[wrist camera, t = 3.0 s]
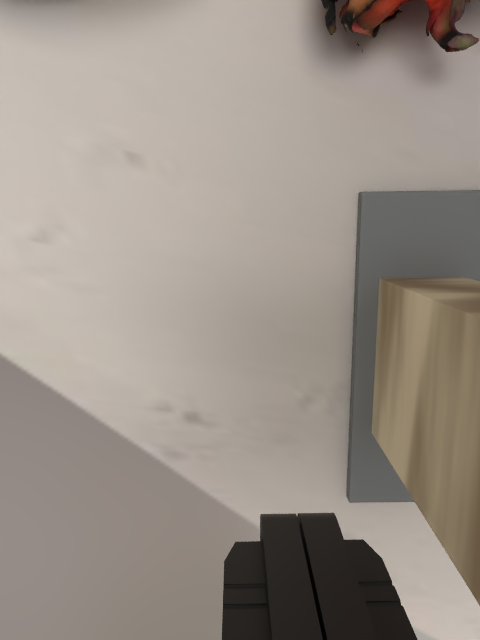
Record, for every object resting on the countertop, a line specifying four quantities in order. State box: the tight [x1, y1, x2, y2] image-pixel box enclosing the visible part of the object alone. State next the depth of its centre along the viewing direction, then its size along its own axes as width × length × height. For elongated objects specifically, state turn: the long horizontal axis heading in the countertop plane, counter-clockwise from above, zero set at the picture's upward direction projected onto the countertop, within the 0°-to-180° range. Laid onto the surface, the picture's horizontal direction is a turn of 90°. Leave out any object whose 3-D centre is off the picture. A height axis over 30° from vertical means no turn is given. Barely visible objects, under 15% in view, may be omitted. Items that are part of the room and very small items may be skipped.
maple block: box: [372, 277, 480, 605], centre depth 17 cm, size 4×8×12 cm, turn 1°
